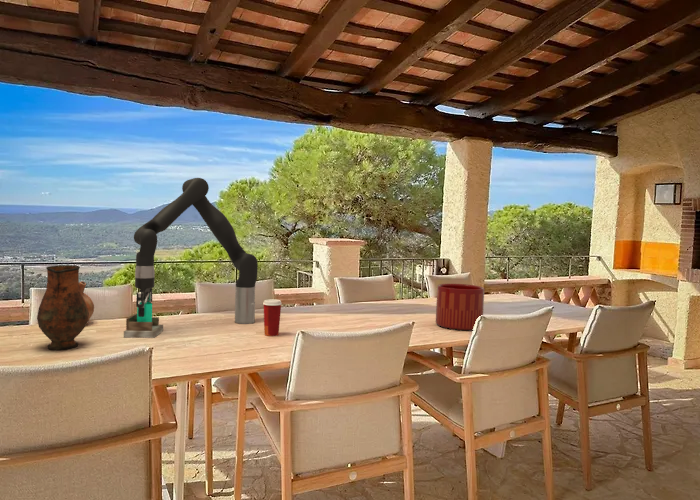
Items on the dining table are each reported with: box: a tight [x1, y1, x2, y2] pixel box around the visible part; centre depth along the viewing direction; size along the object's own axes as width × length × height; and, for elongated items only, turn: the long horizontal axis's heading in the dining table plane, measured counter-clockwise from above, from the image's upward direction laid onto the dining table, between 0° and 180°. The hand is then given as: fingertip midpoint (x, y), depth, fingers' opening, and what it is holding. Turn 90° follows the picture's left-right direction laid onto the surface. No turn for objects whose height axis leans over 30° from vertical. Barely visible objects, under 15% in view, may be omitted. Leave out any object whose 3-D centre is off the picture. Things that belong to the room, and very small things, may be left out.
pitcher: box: [36, 264, 89, 351], centre depth 187 cm, size 17×21×30 cm
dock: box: [123, 313, 164, 339], centre depth 210 cm, size 12×14×8 cm
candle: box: [136, 302, 153, 322], centre depth 210 cm, size 6×6×12 cm
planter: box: [435, 283, 485, 331], centre depth 250 cm, size 23×23×20 cm
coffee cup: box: [262, 298, 283, 337], centre depth 217 cm, size 8×8×15 cm
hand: (144, 314), depth 210 cm, fingers open, 8 cm apart
